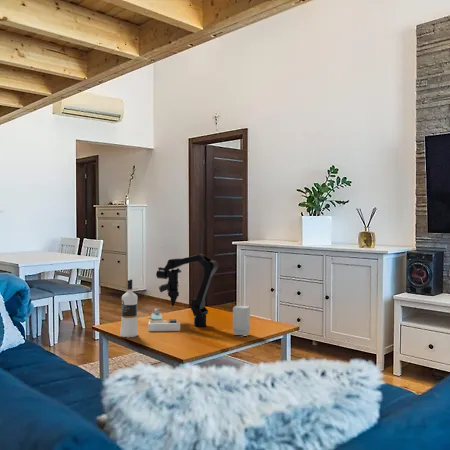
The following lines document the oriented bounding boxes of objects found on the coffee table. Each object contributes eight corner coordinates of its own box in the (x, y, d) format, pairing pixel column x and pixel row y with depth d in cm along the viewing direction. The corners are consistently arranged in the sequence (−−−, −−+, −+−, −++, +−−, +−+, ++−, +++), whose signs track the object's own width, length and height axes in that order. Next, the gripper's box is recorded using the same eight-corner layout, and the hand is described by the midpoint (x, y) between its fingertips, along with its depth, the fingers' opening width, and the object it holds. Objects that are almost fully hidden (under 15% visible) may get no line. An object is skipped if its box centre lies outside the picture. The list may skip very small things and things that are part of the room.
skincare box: (250, 334, 256) (250, 306, 255) (246, 337, 249) (247, 308, 249) (235, 332, 258) (236, 304, 258) (232, 335, 252) (232, 307, 252)
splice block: (176, 324, 277) (176, 319, 276) (176, 325, 273) (176, 320, 272) (169, 324, 276) (169, 319, 276) (169, 326, 272) (169, 320, 272)
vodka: (139, 337, 246) (140, 280, 245) (122, 338, 242) (123, 280, 241) (135, 332, 254) (136, 277, 253) (118, 334, 250) (119, 278, 250)
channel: (179, 327, 268) (179, 320, 268) (180, 330, 261) (180, 323, 261) (148, 327, 266) (148, 320, 266) (148, 331, 258) (148, 323, 258)
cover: (148, 315, 279) (149, 308, 279) (161, 315, 280) (161, 308, 280) (148, 320, 264) (148, 313, 264) (162, 320, 265) (162, 313, 265)
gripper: (159, 277, 289) (159, 302, 289) (159, 281, 270) (159, 308, 271) (177, 277, 290) (177, 302, 291) (179, 281, 272) (178, 308, 272)
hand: (172, 305), depth 281 cm, fingers closed
